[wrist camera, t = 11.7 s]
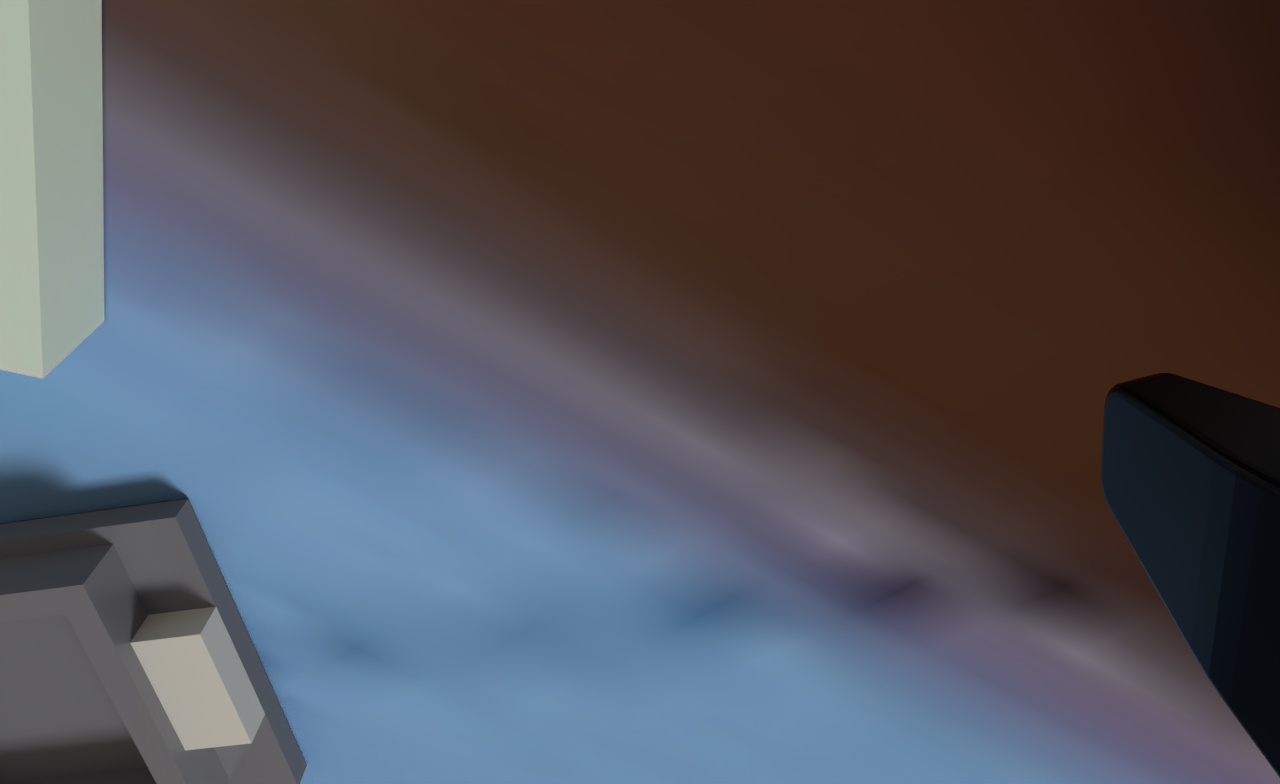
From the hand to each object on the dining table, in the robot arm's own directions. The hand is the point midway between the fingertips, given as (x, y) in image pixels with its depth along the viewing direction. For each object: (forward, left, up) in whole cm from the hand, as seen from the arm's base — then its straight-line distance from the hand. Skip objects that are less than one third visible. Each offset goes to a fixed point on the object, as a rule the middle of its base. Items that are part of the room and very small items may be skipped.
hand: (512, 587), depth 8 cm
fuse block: (+3, +16, -11) cm, 20 cm away
